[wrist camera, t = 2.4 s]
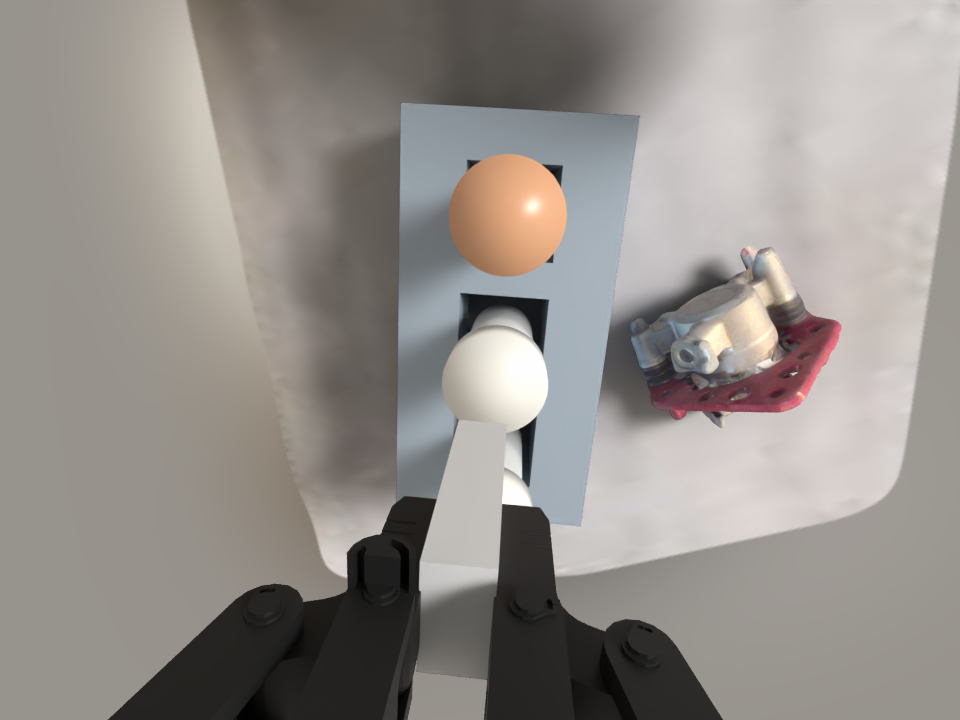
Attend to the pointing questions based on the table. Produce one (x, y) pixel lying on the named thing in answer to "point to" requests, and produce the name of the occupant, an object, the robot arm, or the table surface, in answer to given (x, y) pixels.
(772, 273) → the brake caliper
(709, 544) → the table surface
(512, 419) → the cream plunger
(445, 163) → the blue peg holder block
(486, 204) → the peach ball knob
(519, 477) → the cream plunger
